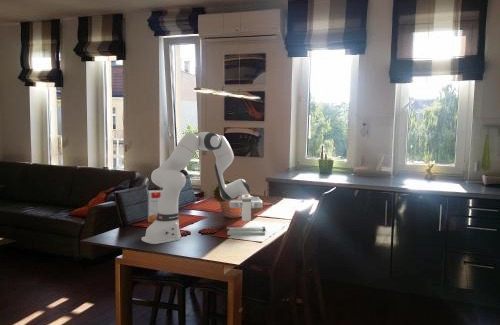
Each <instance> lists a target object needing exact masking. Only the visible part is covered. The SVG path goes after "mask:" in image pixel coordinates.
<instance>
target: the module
mask: <svg viewBox="0 0 500 325" xmlns="http://www.w3.org/2000/svg"><path fill="white" fill-rule="evenodd" d="M251 196H252V195H251V194H250V195H242V208H241V221H242V222H251V221H252V208H251Z"/></svg>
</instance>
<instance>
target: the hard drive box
mask: <svg viewBox="0 0 500 325" xmlns="http://www.w3.org/2000/svg"><path fill="white" fill-rule="evenodd" d="M162 192H163V189H161V190H159V189H158V190H154V189H153V190H150V189H149V190H147V222H148V223H153V222H154V221H155V220H156V218H153V216H152V215H153V214H156V215H157V214H158V200H159V198H160V197H161V195H162Z"/></svg>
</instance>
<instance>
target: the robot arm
mask: <svg viewBox="0 0 500 325" xmlns="http://www.w3.org/2000/svg"><path fill="white" fill-rule="evenodd" d="M197 150H200V151H206V152H207V151H212V153H213V154H214V157H215V163H214V166H213V168H214V171H215V176H216V180H217V184H218V186H219V194H220V197H221V199H222V200H223V201H227V202H228V205H229V208H230V209H237V208H238V209H242V195H250V196H251V209H259V208H260V209H262V208H263V207H264V206H263V203H264V202H263V200H262V199H261V198H260V197H259V196H254V195H251V194H250V193H251V189H250V186H249V184H248V182H247V181H246V180H245V179H243V178H239V179H236V180H233V181H232V182H230V183H227V184H226V183H225V181H224V179H225V178H224V176H223V174H224V172H225V171H226V169H227V168H229V166H230V165H232V163H233V161H234V159H235V155H234V151H233V149H232V147H231V144H230V143H229V141H228V140H227V139H226V137H225V136H224V135H223V134H222V135H221V134H217V133H216V132H211V131H210V132H209V131H200V132H199V131H198V132H195V133H193V132H187V133H185V134H184V135H183V136H182V138H181V139H180V140H179V142H178V143H177V145H176V146H175V148H174V149H173V151H172V153H171V154H170V156H169V157H168V158H167V159H166V160H165V161H164V162H162V164H161V165H160V166H158V168H156V169H154V170H153V171H152V172H151V174H150V180H151V182H152V183H153V184H154V185H156V186H157V187H159V188H162V190H163V192H162V195H161V197H160V198H159V200H158V214H157V215H156V214H153V215H152V216H153V218H156V220H155V221H154V222H151V224H150V225H149V226H148V227H147V228H146V229H145V230H146V231H145V236H142V237H141V241H142V242H144V243H147V244H150V245H157V244H163V243H164V244H165V243H170V242H174V241H175V242H177V241H180V240H181V237H182V235H181V234H182V233H181V231H180V223H179V221H180V220H179V219H180V212H179V198H180V193H181V191H182V189H183V188H184V187H185V185H186V183H187V178H186V175H185V174H184V173H183V172H181V171H182V170H184V169H185V168H187V167H188V166H189V164H190V162H191V160H192V158H193V157H194V155H195V153H196V151H197ZM235 198H237V199H235Z"/></svg>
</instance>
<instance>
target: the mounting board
mask: <svg viewBox="0 0 500 325" xmlns="http://www.w3.org/2000/svg"><path fill="white" fill-rule="evenodd" d="M226 232H227V236H265V235H266V231H227V230H226Z"/></svg>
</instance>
